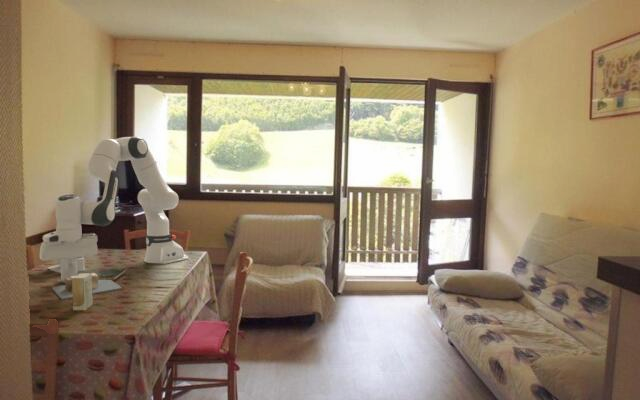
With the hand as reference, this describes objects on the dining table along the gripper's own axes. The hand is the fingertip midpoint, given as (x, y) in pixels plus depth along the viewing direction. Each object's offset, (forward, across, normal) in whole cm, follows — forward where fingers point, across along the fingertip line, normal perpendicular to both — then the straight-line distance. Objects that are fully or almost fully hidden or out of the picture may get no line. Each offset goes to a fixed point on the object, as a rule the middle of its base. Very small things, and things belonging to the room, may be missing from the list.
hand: (70, 268), depth 170 cm
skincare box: (+10, +1, +23) cm, 25 cm away
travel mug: (+10, -3, -16) cm, 19 cm away
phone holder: (+10, -6, -38) cm, 40 cm away
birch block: (+6, -10, 0) cm, 12 cm away
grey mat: (+10, -6, 0) cm, 11 cm away
